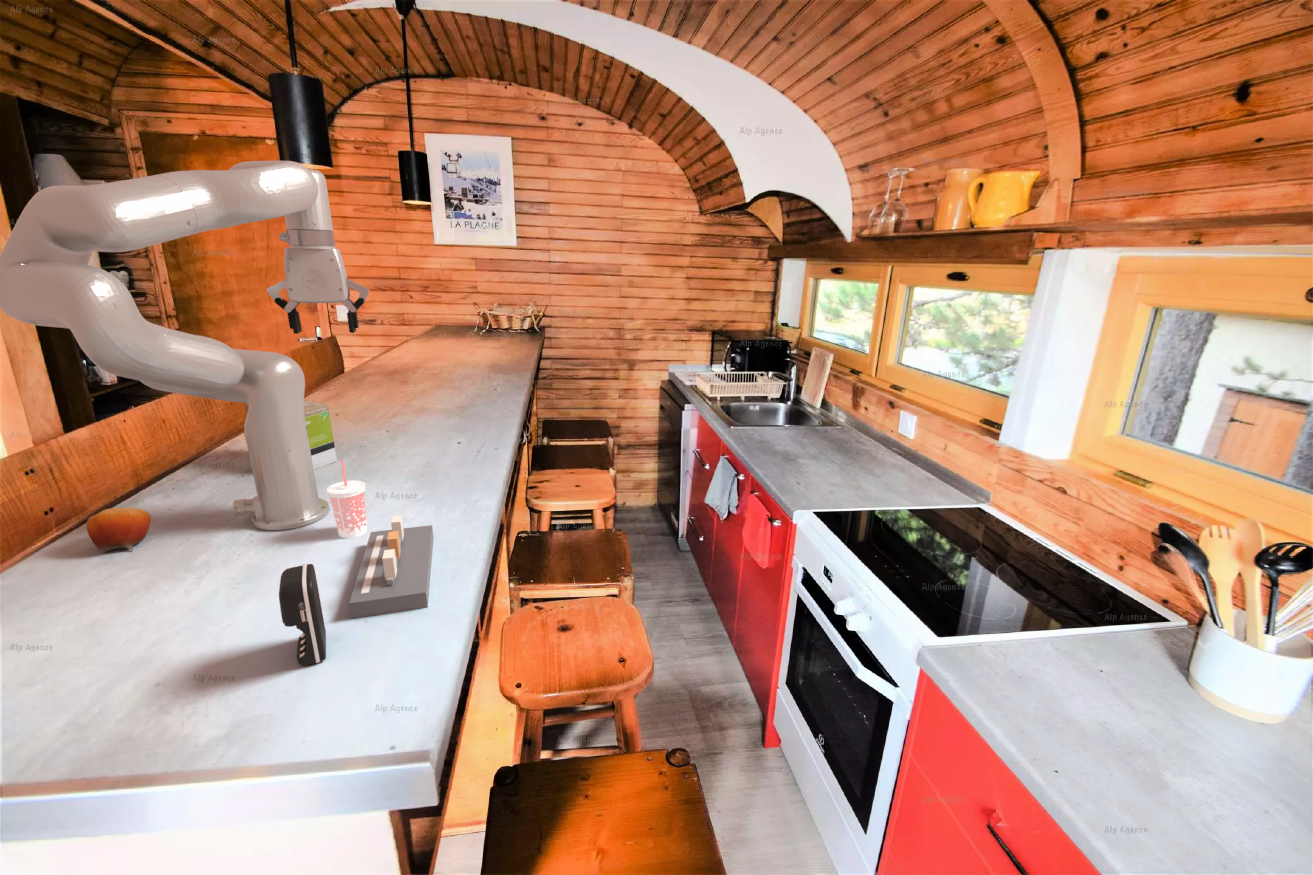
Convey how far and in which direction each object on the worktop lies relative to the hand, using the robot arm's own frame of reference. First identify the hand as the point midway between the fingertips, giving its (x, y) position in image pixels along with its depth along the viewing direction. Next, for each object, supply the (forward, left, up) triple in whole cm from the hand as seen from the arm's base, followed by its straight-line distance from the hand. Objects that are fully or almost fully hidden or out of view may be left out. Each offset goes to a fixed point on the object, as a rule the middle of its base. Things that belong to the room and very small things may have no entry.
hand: (325, 332), depth 113 cm
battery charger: (+4, -56, -34) cm, 65 cm away
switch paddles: (+13, -39, -30) cm, 51 cm away
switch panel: (+13, -39, -33) cm, 53 cm away
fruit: (-32, -17, -34) cm, 49 cm away
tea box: (-14, +19, -34) cm, 41 cm away
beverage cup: (+4, -22, -34) cm, 40 cm away
